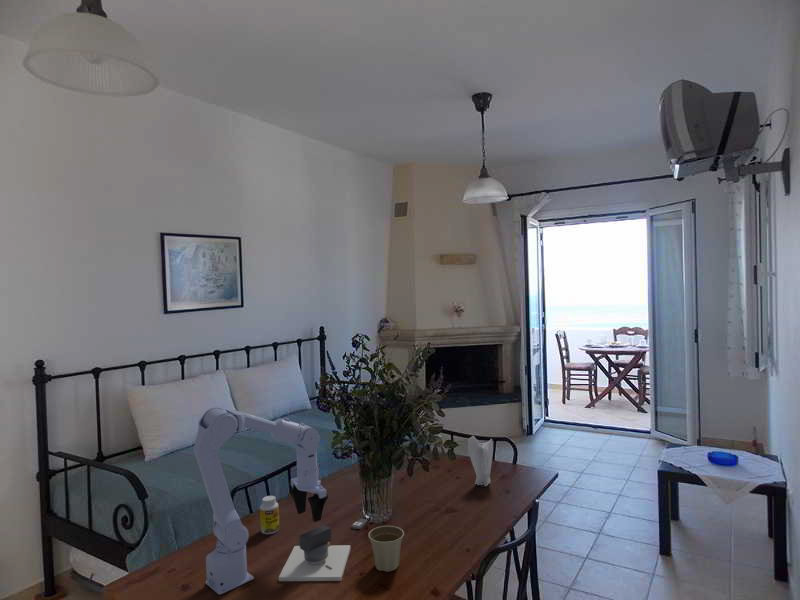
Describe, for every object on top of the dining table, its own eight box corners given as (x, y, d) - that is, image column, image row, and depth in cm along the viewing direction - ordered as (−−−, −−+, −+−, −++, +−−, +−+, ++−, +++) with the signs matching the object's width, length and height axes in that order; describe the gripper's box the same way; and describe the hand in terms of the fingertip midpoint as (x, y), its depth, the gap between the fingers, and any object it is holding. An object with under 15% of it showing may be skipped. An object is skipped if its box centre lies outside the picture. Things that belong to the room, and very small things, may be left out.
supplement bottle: (264, 537, 154) (262, 503, 154) (258, 530, 159) (257, 497, 159) (282, 531, 157) (280, 498, 157) (275, 525, 162) (274, 493, 162)
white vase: (497, 482, 190) (495, 434, 190) (488, 490, 183) (487, 440, 183) (476, 478, 195) (475, 431, 195) (467, 486, 188) (466, 437, 188)
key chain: (360, 531, 156) (359, 527, 156) (349, 529, 158) (349, 525, 158) (380, 514, 168) (380, 510, 168) (370, 512, 170) (370, 508, 170)
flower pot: (385, 553, 142) (384, 522, 142) (412, 563, 136) (411, 531, 136) (362, 568, 135) (360, 535, 135) (389, 579, 129) (388, 545, 129)
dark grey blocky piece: (310, 565, 132) (309, 541, 132) (296, 557, 137) (295, 533, 137) (336, 553, 138) (335, 529, 138) (322, 545, 143) (321, 522, 143)
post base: (341, 580, 129) (340, 572, 129) (278, 581, 130) (278, 573, 130) (350, 548, 145) (350, 541, 145) (294, 549, 146) (294, 542, 146)
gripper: (334, 470, 142) (336, 519, 142) (304, 459, 152) (306, 505, 152) (313, 477, 137) (315, 528, 137) (283, 466, 147) (285, 512, 147)
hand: (309, 516), depth 144 cm, fingers open, 7 cm apart
